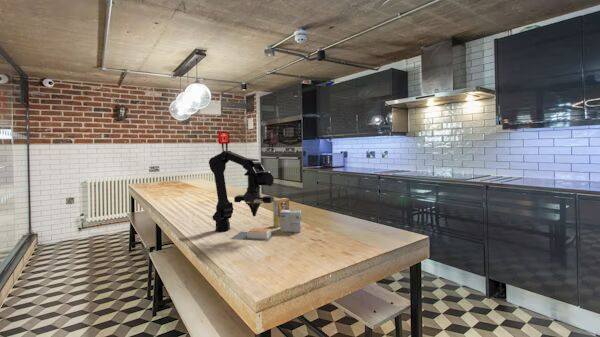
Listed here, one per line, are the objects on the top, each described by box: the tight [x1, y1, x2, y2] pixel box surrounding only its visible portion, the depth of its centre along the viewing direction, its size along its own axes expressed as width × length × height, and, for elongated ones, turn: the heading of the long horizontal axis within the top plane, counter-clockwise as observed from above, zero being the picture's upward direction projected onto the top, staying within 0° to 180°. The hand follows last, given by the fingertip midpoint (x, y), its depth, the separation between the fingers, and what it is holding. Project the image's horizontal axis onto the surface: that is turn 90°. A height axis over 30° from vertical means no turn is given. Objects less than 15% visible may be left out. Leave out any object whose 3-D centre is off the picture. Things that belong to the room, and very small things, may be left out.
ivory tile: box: [246, 227, 272, 239], centre depth 161 cm, size 3×7×10 cm
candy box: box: [272, 197, 290, 228], centre depth 183 cm, size 9×4×15 cm, turn 139°
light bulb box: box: [279, 209, 302, 233], centre depth 173 cm, size 11×7×11 cm, turn 84°
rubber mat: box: [230, 231, 276, 242], centre depth 162 cm, size 19×14×1 cm
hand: (254, 216), depth 161 cm, fingers closed
